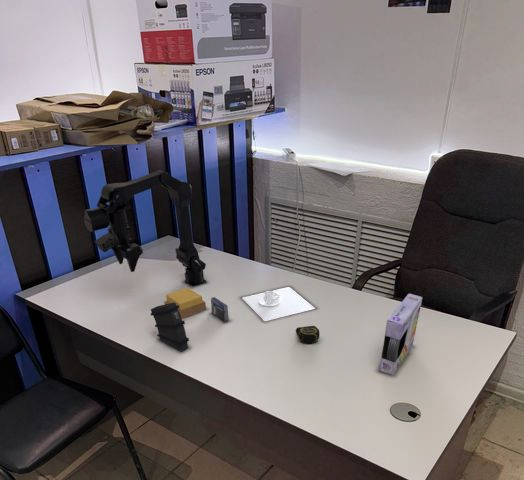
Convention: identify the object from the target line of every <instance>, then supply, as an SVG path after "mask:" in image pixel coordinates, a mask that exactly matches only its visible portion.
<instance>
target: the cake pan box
mask: <svg viewBox="0 0 524 480" xmlns="http://www.w3.org/2000/svg"><path fill="white" fill-rule="evenodd" d="M422 303H423V296H420V295H416V294H413V293H408V294H407V295H406V296H405V297H404V298H403V300H402V301H401V302H400V303H399V304H398V305H397V306H396V308H395V310H394V311H393V312H392V313H391V315H390V316H389V317H388V318H387V320H386V324H385V331H384V336H383V337H384V338H383V345H382V350H381V356H380V362H379V370H378V371H379V372H381V373H384V374H386V375H389V376H394V375H395V374H396V372H397V371H398V369H399V367H400V366H401V364H402V362H403V361H404V359H405V358H406V356H407V355H408V354H409V352H410V350H411V349H412V347H413V345H414V341H415V336H416V331H417V327H418V326H417V325H418V321H419V317H420V312H421V308H422Z"/></svg>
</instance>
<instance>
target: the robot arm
mask: <svg viewBox="0 0 524 480" xmlns="http://www.w3.org/2000/svg"><path fill="white" fill-rule="evenodd" d="M159 186H162V187H163V188H166V189H167V191H168V194H169V197H170V200H171V201H172V204H173V206H174V209H175V215H176V223H177V224H176V225H177V230H178V238H179V244H178V245H179V246H178V247H177V248H174V249H175V254H176V256H175V258H176V259H177V260H178V262H179V263H180V264H181V265H182V266H183V267H184V271H185V272H184V283H186V284H187V285H189V286H191V287H197V286H199V285H202V284H206V283H207V280H206V279H205V277H204V270H205V269H206V267H207V264H206V262H204V261H203V260H202V259H200V255H199V251H198V249H197V247H196V245H195V244H194V240H193V231H192V224H191V223H192V222H191V215H190V203H191V201H192V192H193V191H192V186H191V184H190V183H189V182H187V181H184V180H181V179H177V178H175V177H174V176H172V175H171V174H169V173H168V172H166V171H163V170H160V169H158V170H155V171H153V172H151V173H149V174H145V175H142V176H140V177H137V178H134V179H131V180H128V181H126V182H114V183H107V184H105V185H103V187H101V188H102V189H101V190H100V191H101V192H100V197H99V199H98V201H97V203H96V207H95V208H89V209H85V210H84V216H83V222H84V224H85V227H86V230H88V232H90V233H92V232H97V231H100V230H105V229H107V232H106V233H105V234H102V235H101V236H100V237H98V238H97V239H95V241H94V242H95V245H96V246H97V247H98V249H99V250H100V251H101V252H103V253H107V252H108V251H109V250H112V251H113V254H114V256H115V258H116V260H117V262H118V264H119V265H123V264H124V259H125V260H126V263H127V265H128V268H129V270H130V272H131V273H134V272H135V270H136V267H137V264H138V261H139V260H140V259H139V258H140V256H141V255H143V254H144V251H143V247H142V246H141V245H138V243H136V242H133V238H131V236H130V231H131V226H129V225H128V219H127V214H126V211H127V210H131V209H132V207H131V206H130V205H129V204H127V202H128V201H129V200H130V199H131V198H133V196H135V195H138V194H141V193H144V192H146V191H149V190H151V189H154V188H157V187H159Z"/></svg>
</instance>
